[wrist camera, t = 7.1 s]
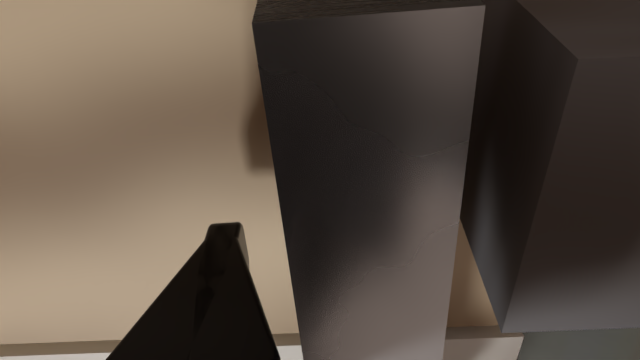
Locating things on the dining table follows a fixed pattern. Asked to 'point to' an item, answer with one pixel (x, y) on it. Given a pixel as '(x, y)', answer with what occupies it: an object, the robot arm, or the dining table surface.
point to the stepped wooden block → (258, 171)
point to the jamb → (290, 346)
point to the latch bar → (369, 164)
